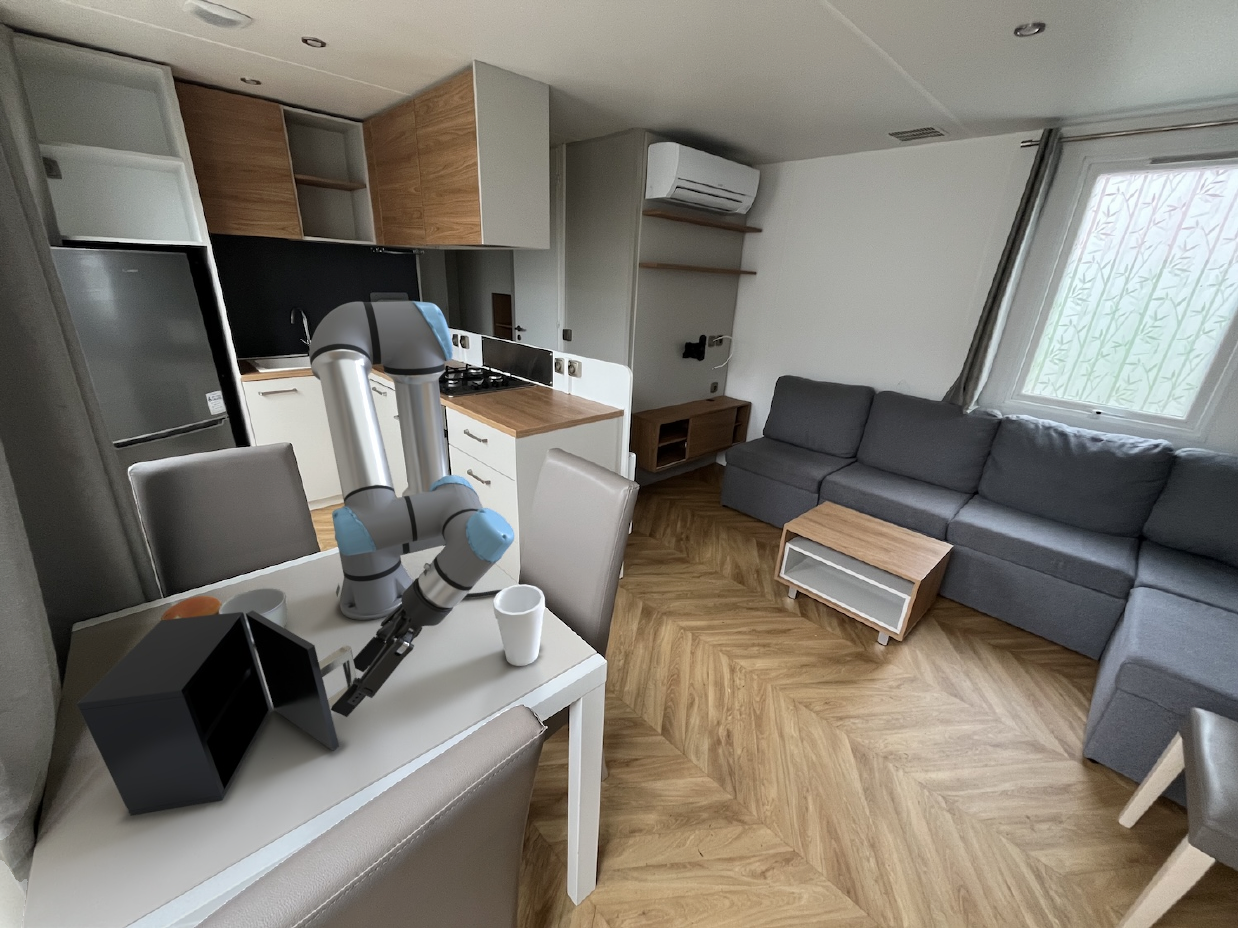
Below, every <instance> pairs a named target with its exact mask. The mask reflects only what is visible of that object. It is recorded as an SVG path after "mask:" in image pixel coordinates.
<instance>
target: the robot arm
mask: <svg viewBox="0 0 1238 928" xmlns="http://www.w3.org/2000/svg"><path fill="white" fill-rule="evenodd" d="M453 349H454V348H453V342H452V337H451V334H450V329H449V326H448V323H447V320H446V318H445V316H444V314H443V312H442V310H441V309H440V307H439V306H437V305H436V304H435V303H433V302H427V301H426V302H425V301H415V300H407V301H406V300H403V301H352V302H351V301H350V302H347V303H344V304H341V305H339V306H337V307H336V308H334V309H332V310H331V311H329V313H327V315H325V316H324V317H323V319H322V320H321V321H320V323H318V325H317V327H316V329H315V331H314V333H313V335H312V338H311V340H310V345H309V356H308V357H309V358H308V359H309V364H310V369H311V373H312V375H313V376H314V377H315V378H316V379H317V380H319V381H320V385H321V391H322V396H323V401H324V406H325V411H326V418H327V422H328V427H329V432H330V438H331V444H332V448H333V453H334V458H335V463H336V467H337V468H336V469H337V474H338V479H339V483H340V489H341V494H342V500H343V505H344V506H342V507H340V508H336V509H334V510H333V511H332V512H331V517H332V523H333V529H334V539H335V542H336V545H337V548H338V554H339V559H340V564H341V568H342V573H343V580H342V585H341V586H340V583H338V584H337V587H336V591H335V594H336V598H338V596H339V595H340V596H339V607H340V611H341V613H342V614H343V615H344V616H345V617H346V618H349V619H352V620H355V621H356V620H357V621H370V620H377V619H381V618H384V617H385V619H383V620H382V621H381V623H380V628H378V629H377V630H376V633H375V636H373V637H372V638H371V639H370V640H369V641H368V642H367V643H366V644H365V646H363V648H362V649H361V650H360V651H359V652H358V653H357V654H356V655H355V656H354V657H353V660H354V665H355V669H356V670H358V671H360V672H362V673H363V674H362V675H361V677H357V678H354V680H353V682H352V683H353V684H352V685H351V686H350V687H349V688H348V689H347V691H346V692H345V693H344V694H343V695H342V696H341V697H340V698H339V699H338V700H337V702H336V703H335V704H334V705H333V706H332V708H331V710H332V711H334V712H335V713H337V714H338V715H341V716H343V717H345V718H348V717H349V716H350V714H352V712H354V710H355V709H356V708H357V707H358V706H359V705H360V703H361V702H362V701H363V700H364V699H365V698H366V697H367V698H369V699H372V698H374V697H375V696H376V694H377V693H378V691H379V690H380V689H381V687H382V686H383V685H384V684H385V683H386V682H387V680H388V679H389V678H390V676H391V675H392V674H393V673H394V672H395V670H396V669H397V668H398V666H400V664H401V663H402V662H403V660H404V659H405V658H406V657H407V656H408V655H409V654H410V653H411V652H412V651H413V650H414V647H415V644H413V643H412V642H413V641H414V640H415V638H418V637H419V635H420V634H421V632H422V630H423V627H434V626H437V625H439V624H440V623H442V622H443V621H444V620H445V618H446V617H447V616H448V615H449V614H450V613H451V612H452V611H453V609H454V608H455V607H456V606H458V605H459V604H460V603H461V602H462V601H463V599H469V598H470V599H471V598H481V597H488V596H494V595H495V596H496V594H497V593H499V592H500V591H502V590H503V589H496V590H495V589H494V590H490V591H489V590H487V591H482V592H471V591H472V590H473V588H474V586H475V585H476V584H478V582H479V581H480V580H481V578H483V577H484V576H485V574H486V573H488V572H489V570H491V568H492V567H493V566H494V565H496V563H497V562H499V561H500V560H501V559H502V557H503V556H504V554H505V553H506V552H507V550H508V549H509V548H510V547H511V545H512V544H513V542H514V541H515V531H514V528H513V527H512V525H511V524H510V523H508V521H507V520H506V518H505V517H504V516H503V515H501V514H500V513H498V512H497V511H495V510H494V509H491V508H488V507H484V506H483V505H482V502H481V500H480V496H479V495H478V493H477V491H476V490H475V488H474V487H473V485H472V484H471V483H470V482H469V480H468V479H466V478H465V477H464V476H460V475H457V474H449V469H448V459H447V458H448V457H447V450H446V449H447V448H446V440H445V429H444V419H443V412H442V401H441V400H442V399H441V392H440V382H439V379H440V377H441V376H442V375H443V374H444V373H445V372H446V365H445V364H446V363H445V362H449V361H451V360H452V359H453V351H454V350H453ZM379 365H382V367H383V373H384V374H385V376H388V378H390V379H391V380H392V382H393V386H394V392H395V399H396V407H397V414H398V422H399V429H400V436H401V445H402V451H403V457H404V465H405V473H406V478H407V480H406V481H407V487H406V488H405V489H404V490H403V492H402V493H401V496H400V497H397V494H396V490H395V486H394V482H393V478H392V474H391V473H392V472H391V469H390V464H389V460H388V456H387V451H386V447H385V441H384V438H383V434H382V431H381V425H380V421H379V417H378V413H377V409H376V405H375V401H374V395H373V391H372V388H371V387H372V386H371V383H370V379H369V376H370V374H371V372H372V369H373V366H379ZM439 547H443V548H442V549H441V550H440V552H439V553H438V554H437V555H435V556H434V559H433V560H432V561H431V563H428V562H426V563H424V564H423V567H422V568H423V569H424V570H423V571H422V572H421V573H420V574H419V576H418V577H416V578H415V579H414V580H412V578H411V576H410V575H409V573H408V572H407V570H406V568H405V567H404V565H403V563H402V558H401V557H402V556H404V555H409V554H414V553H417V552H422V551H426V550H430V549H434V548H439ZM340 589H341V590H340ZM470 592H471V593H470ZM339 593H340V594H339Z"/></svg>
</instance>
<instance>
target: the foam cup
mask: <svg viewBox="0 0 1238 928" xmlns="http://www.w3.org/2000/svg"><path fill="white" fill-rule="evenodd" d="M501 590H502V591H500V592H499V593H497V594H495V596H494V598H493V600H492V603H493V605H492V606H493V612H494V617H495V620H497V625H498V630H499V633H500V638H501V641H502V645H503V649H504V654H505V658H506V661H507V662H508V663H509V664H510V665H512V666H516V667H523V666H528V665H530V664H532V663H533V662H535V661H536V660H537V659H538V656H539V651H540V644H541V637H542V628H543V619H544V611H545V609H546V598H545V595H544V592H543V590H541V588H539V587H538V586H535V585H529V584H525V583H524V584H513V585H511V586H507V587H505V588H503V589H501Z"/></svg>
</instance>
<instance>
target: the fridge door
mask: <svg viewBox="0 0 1238 928" xmlns="http://www.w3.org/2000/svg"><path fill="white" fill-rule="evenodd" d="M246 616H247V620H248V623H249V627H250V630H251V633H252V637H253V640H254V643H255V644H254V646H255V647H254V648H255V650H256V653H257V656H258V657H257V658H258V661H259V663H260V668H261V671H262V675H263V678H264V680H265V683H266V684H265V685H266V688H267V691H268V693H269V694H268V695H269V696H270V697H269V698H270V701H271V703H272V704H271V705H272V708H273V710H274V711H275V712H276V713H278V715H279V714H280V716H282V717H284V718H285V719H287V720H288V721H289V722H291V723H292V724H293V725H295V726H297V727H298V728H299V729H301V730H302V731H303V732H305V733H306V734H308V735H309V736H310V737H312V738H314V739H315V740H317V741H318V742H320V743H321V744H322V745H324V746H325V747H326V748H328V749H330V750H331V751H332V752H335V751H336V750H337V749H338V748H339V747H340V743H339V739H338V735H337V732H336V727H335V723H334V720H333V719H334V718H333V714H335V713H336V712H334V711H332V710H331V708H332V706H333V705H334V704H335V703H336V702H337V700H338V699H339V698H340V697H341V696H342V695H343V694H344V693H345V692H346V691H347V689H348V688H349V687H350V686H351V685H352V684H353V683H352V682H353V680H354V678H358V674H357V669H355V665H354V660H353V659H354V656H353V655H354V654H353V651H352V647H351V646H350V645H344V646H342V647H340V648H338V649H337V650H336V651H334V652H333V653H331V654H329V655H328V656H326V657H325V658H323V659H322V660H320V661H319V658H318V654H317V650H316V646H315V644H313V643H311V642H310V641H308V640H306V639H304V638H302V637H300V636H299V635H297V634H295V633H293V632H292V631H290V630H288V629H286V628H285V627H284V628H283V627H281V626H279V625H278V624H276V623H274V622H272V621H271V620H269V619H267V618H265V617H264V616H262V615H260V614H258V613H256V612H255V611H253V610H252V611H250V612H248V613H246ZM341 666H342V670H343V673H344V674H343V675H344V679H345V683H346V686H345V687H344V688H342V689H341V690H339V691H338V692H337V693H335V694H334V695H333V696H331V697H330V698H328V695H327V690H326V686H325V684H324V683H325V682H324V679H323V678H324V677H326V676H327V675H329V674H330V673H331V672H332V671H334V670H336V669H337V668H339V667H341Z"/></svg>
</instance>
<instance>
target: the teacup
mask: <svg viewBox="0 0 1238 928" xmlns="http://www.w3.org/2000/svg"><path fill="white" fill-rule="evenodd" d="M221 604H222V605H221V607H220V609H219V614H227V613H237V612H243V613H244V616H245V620H246V623H247V626H248V630H249V633H250V637H251V640H252V643H253V645H255V643H254V640H253V637H252V633H251V630H250V627H249V623H248V620H247V616H246V613H248V612H250V611H252V610H253V611H255V612H256V613H258V614H260V615H262V616H264V617H265V618H267V619H269V620H271V621H272V622H274V623H276V624H278V625H279V626H281V627H283V628H285V627H286V625H287V622H288V617H289V614H288V613H289V612H288V605H287V594H286V592H285V591H284V590H282V589H280V588H275V587H259V588H254V589H249V590H246V591H243V592H240V593H238V594H236V595H233V596H232V597H230V598H228V599H227V600H226V601H224V602H223V603H221Z"/></svg>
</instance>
